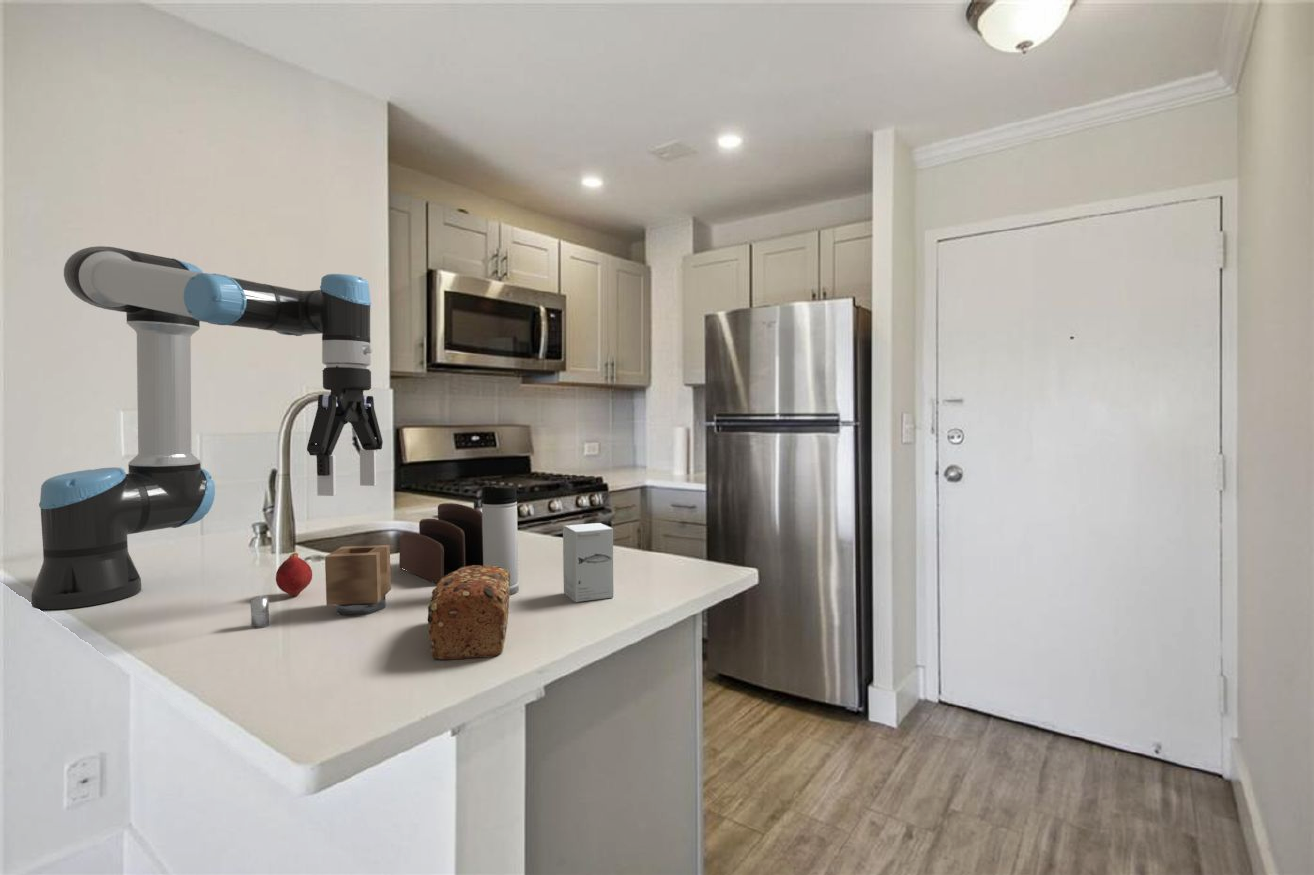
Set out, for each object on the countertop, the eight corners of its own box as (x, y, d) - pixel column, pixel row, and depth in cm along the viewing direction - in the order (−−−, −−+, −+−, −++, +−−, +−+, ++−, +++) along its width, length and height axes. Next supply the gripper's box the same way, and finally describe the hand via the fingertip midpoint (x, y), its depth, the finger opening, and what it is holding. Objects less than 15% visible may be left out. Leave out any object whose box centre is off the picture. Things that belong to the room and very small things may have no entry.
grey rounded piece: (248, 626, 101) (247, 599, 101) (263, 622, 104) (262, 595, 103) (257, 629, 100) (256, 601, 100) (272, 624, 102) (271, 597, 102)
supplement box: (574, 603, 112) (573, 531, 111) (562, 593, 119) (561, 524, 118) (614, 598, 115) (613, 527, 114) (601, 588, 122) (600, 521, 121)
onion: (296, 601, 115) (295, 556, 115) (268, 599, 116) (267, 555, 116) (319, 592, 121) (318, 550, 121) (292, 591, 122) (291, 549, 122)
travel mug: (475, 595, 118) (473, 485, 117) (497, 586, 124) (495, 482, 123) (504, 598, 115) (502, 487, 115) (525, 589, 121) (523, 483, 121)
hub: (326, 612, 109) (325, 569, 108) (365, 600, 115) (364, 560, 115) (357, 618, 105) (356, 574, 105) (395, 605, 112) (394, 564, 112)
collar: (326, 605, 106) (324, 556, 105) (343, 591, 114) (341, 546, 113) (377, 602, 107) (376, 554, 107) (390, 589, 115) (389, 544, 114)
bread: (506, 658, 88) (504, 585, 87) (424, 664, 86) (422, 590, 85) (512, 616, 106) (511, 555, 106) (445, 620, 104) (443, 558, 104)
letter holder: (442, 562, 145) (441, 499, 145) (488, 577, 131) (486, 508, 131) (398, 569, 138) (397, 504, 138) (441, 587, 124) (439, 514, 124)
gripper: (327, 362, 98) (329, 500, 100) (400, 371, 123) (402, 482, 124) (279, 362, 99) (282, 500, 100) (362, 371, 124) (363, 481, 125)
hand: (348, 490), depth 112 cm, fingers open, 13 cm apart
